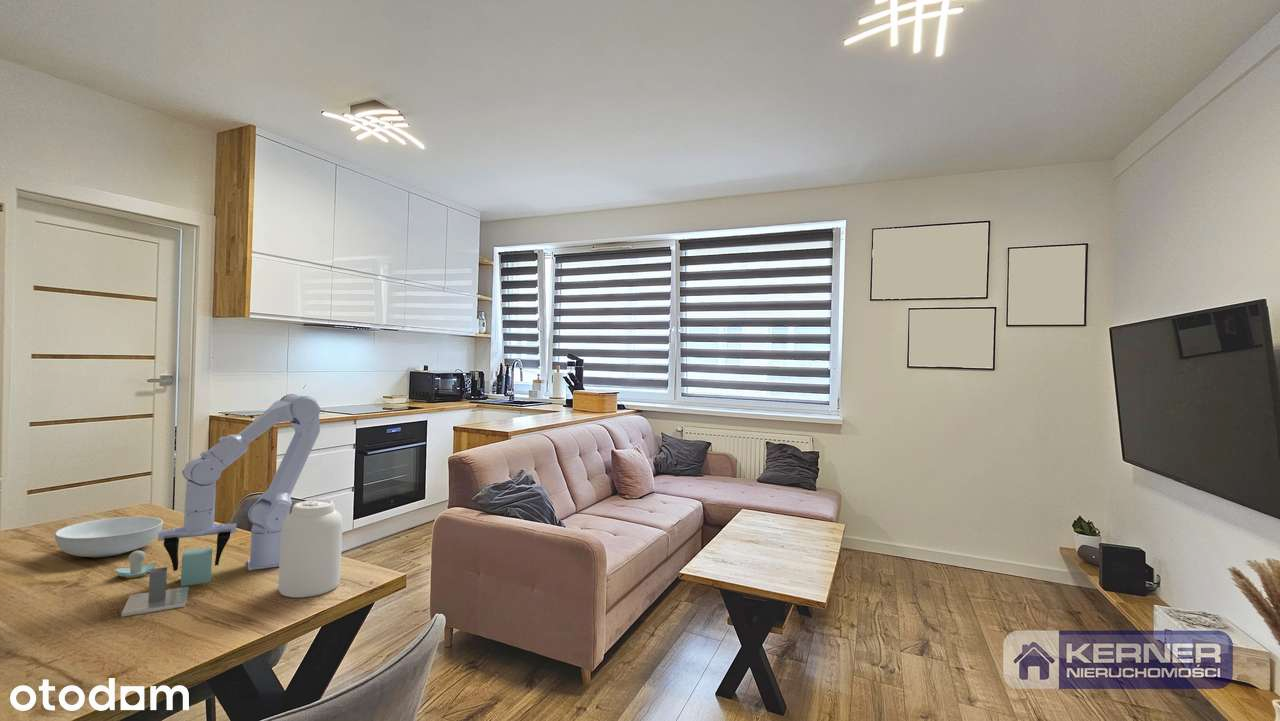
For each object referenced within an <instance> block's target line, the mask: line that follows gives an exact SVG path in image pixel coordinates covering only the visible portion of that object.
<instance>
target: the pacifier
mask: <svg viewBox="0 0 1280 721" xmlns="http://www.w3.org/2000/svg"><path fill="white" fill-rule="evenodd" d="M145 558H146V552H144V551H143V550H133V552H132V551H131V553H130V554H129V555H128V562H129V563H130V566H129V567H121V568H120V567H119V568H116V569H115V573H116V574H117V576H119V577H124V578H125V579H133V578H139V577H143V576H146V575H147V574H150V572H151V569H156V566H157V565H158V564H157V562H153V563H150V564H146V565H143V561H144V560H145Z"/></svg>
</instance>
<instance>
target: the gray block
mask: <svg viewBox="0 0 1280 721" xmlns="http://www.w3.org/2000/svg"><path fill="white" fill-rule="evenodd" d="M167 574H168V567H167V566H165V567H158V568H153V569H151V572H149V581H148V585H149V586H148V592H143V593H136V594H135V593H134V594H130V595H129V597H128V599H127V601H126V603H125V605H124V607H123V609H122V611H121V614H120V615H121V618H122V617H128V616H129V617H130V616H136V615H141V614H142V615H143V614H149V613H155V612H160V611H166V610H172V609H178V608H184V607H186V606H185V605H186V602H187V597H188V595H189V592H190V587H189V586H181V587H175V588H169V589H167V578H168V575H167Z"/></svg>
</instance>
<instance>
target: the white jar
mask: <svg viewBox="0 0 1280 721" xmlns="http://www.w3.org/2000/svg"><path fill="white" fill-rule="evenodd" d="M335 506H336V505H335V504H334V501H332V500H329V499H309V500H305V501H300V502H297V503H294V504H293V505H292V509H291V512H289V515H288V516H287V517H286V518H285V519H284V521H283V524H282V527H281V543H280V563H279V566H278V567H279V570H278V583H277V584H278V589H277V590H278V592H279V593H280V595H282V596H284V597H287V598H309V597H316V596H320V595H323V594H326V593H328V592H331V591H332V590H335V589H336V588H337V587H339V584H340V581H341V569H342V568H341V565H342V564H341V563H342V544H343V523H344V522H343V520H344V519H343V516H342V514H341V513H340V512H339V511H338V510H336V509H335Z"/></svg>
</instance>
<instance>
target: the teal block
mask: <svg viewBox="0 0 1280 721" xmlns="http://www.w3.org/2000/svg"><path fill="white" fill-rule="evenodd" d="M213 548H214V547H205V548H197V549H187V550H183V554H182V556H181V571H180V572H181V574H180V587H188V586H193V585H199V584H205V583H210V582H211V577H212V568H213Z"/></svg>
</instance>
